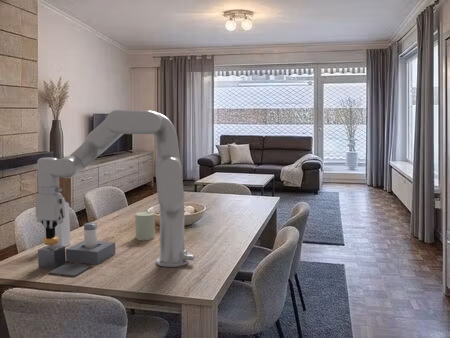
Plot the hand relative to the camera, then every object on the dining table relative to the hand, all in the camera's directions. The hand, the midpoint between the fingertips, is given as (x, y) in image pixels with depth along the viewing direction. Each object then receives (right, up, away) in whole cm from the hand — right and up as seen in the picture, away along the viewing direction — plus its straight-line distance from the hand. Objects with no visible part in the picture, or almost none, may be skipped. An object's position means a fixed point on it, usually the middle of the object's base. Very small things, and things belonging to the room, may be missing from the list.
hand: (50, 237), depth 174 cm
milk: (-6, -8, +28) cm, 29 cm away
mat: (+9, -12, -4) cm, 15 cm away
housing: (+12, -10, +11) cm, 19 cm away
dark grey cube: (0, -11, +1) cm, 11 cm away
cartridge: (+12, -10, +11) cm, 19 cm away
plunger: (0, -8, +1) cm, 8 cm away
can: (+29, -6, +42) cm, 51 cm away
